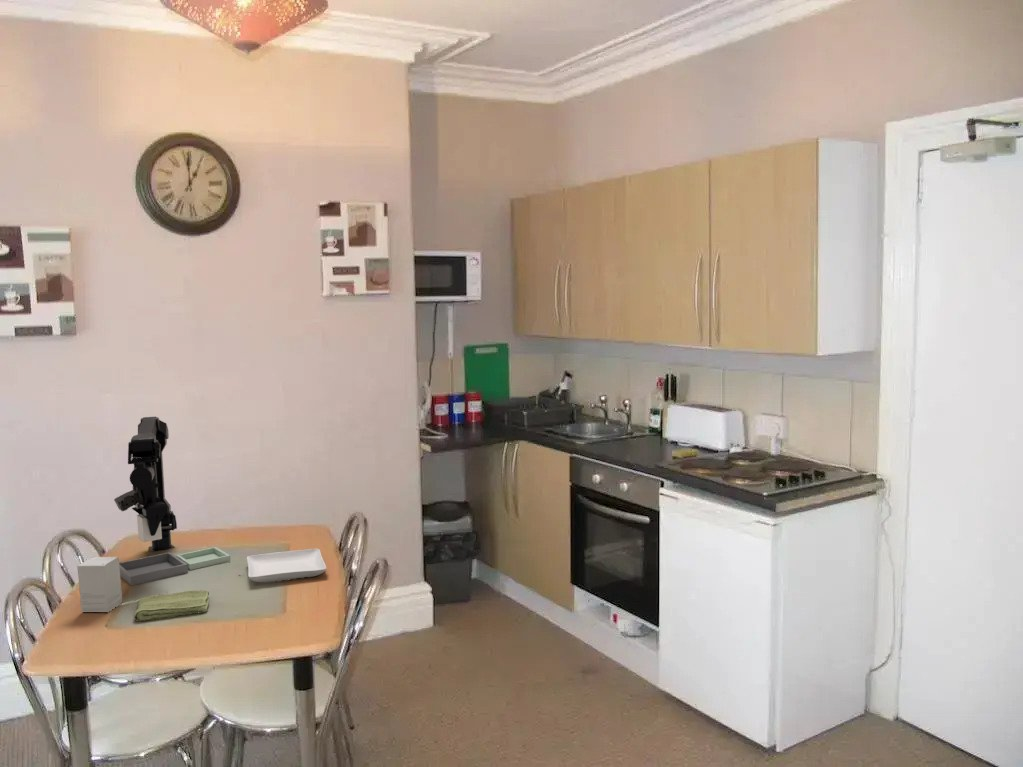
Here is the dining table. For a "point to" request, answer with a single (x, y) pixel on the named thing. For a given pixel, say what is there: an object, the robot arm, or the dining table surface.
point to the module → (147, 530)
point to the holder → (204, 558)
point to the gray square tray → (152, 568)
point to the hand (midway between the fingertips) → (150, 533)
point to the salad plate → (285, 565)
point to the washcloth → (171, 605)
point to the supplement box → (100, 584)
